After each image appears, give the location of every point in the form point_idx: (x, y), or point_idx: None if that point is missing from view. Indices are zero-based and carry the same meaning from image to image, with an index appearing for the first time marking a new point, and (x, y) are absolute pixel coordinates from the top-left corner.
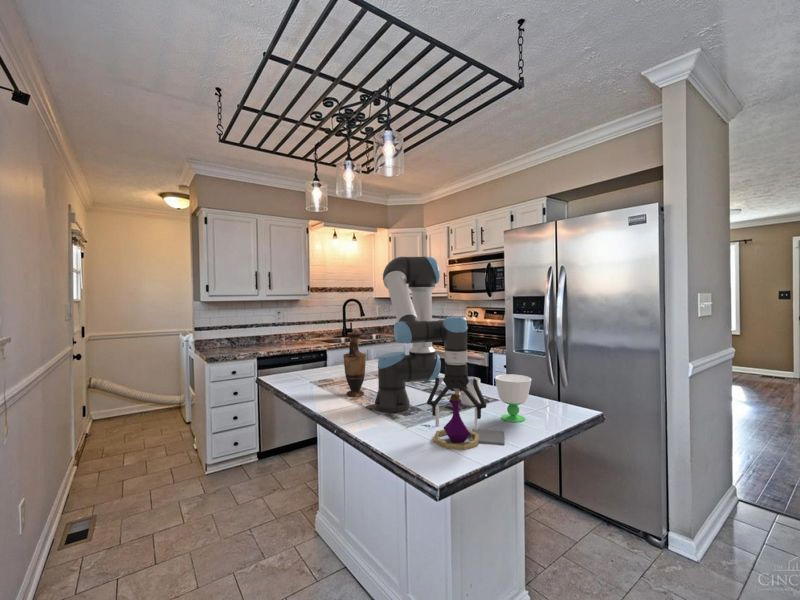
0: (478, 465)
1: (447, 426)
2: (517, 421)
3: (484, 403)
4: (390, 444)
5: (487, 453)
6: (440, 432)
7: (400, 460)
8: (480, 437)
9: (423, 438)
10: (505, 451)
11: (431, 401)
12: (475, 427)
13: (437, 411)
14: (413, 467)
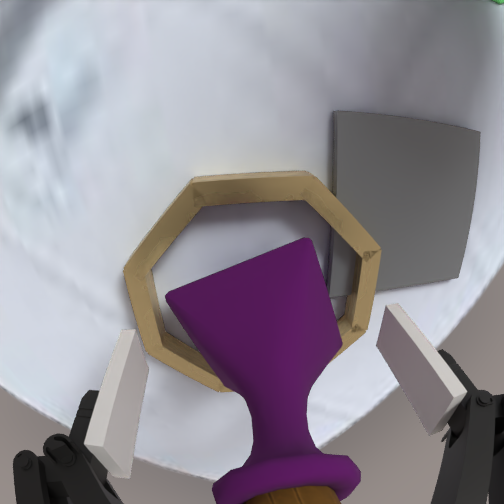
0: (340, 425)
1: (205, 354)
2: (500, 2)
3: (500, 441)
4: (30, 377)
5: (381, 362)
6: (148, 270)
7: None
8: (381, 246)
9: (88, 311)
10: (439, 326)
11: (63, 494)
12: (384, 353)
13: (132, 452)
14: (174, 464)
